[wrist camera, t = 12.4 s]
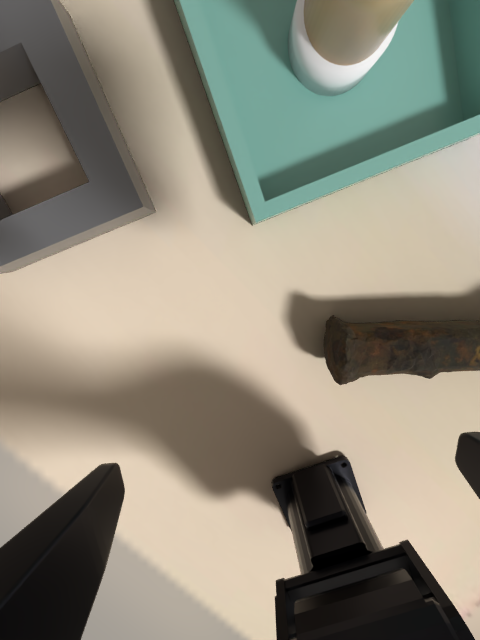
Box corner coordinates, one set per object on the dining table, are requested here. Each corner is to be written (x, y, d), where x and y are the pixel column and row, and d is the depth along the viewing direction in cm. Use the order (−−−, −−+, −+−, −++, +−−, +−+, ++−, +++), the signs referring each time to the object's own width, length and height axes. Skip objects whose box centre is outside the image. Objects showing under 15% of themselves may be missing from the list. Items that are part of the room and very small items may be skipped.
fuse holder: (156, 212, 16) (143, 206, 14) (11, 272, 17) (-25, 276, 15) (69, 15, 14) (35, -34, 11) (-99, 94, 14) (-164, 65, 12)
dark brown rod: (316, 364, 20) (341, 399, 15) (321, 311, 19) (350, 333, 14) (559, 363, 21) (650, 397, 16) (579, 313, 20) (681, 334, 15)
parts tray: (467, 138, 16) (510, 120, 14) (252, 225, 17) (255, 222, 14) (428, -183, 12) (477, -285, 10) (155, -50, 13) (139, -115, 11)
